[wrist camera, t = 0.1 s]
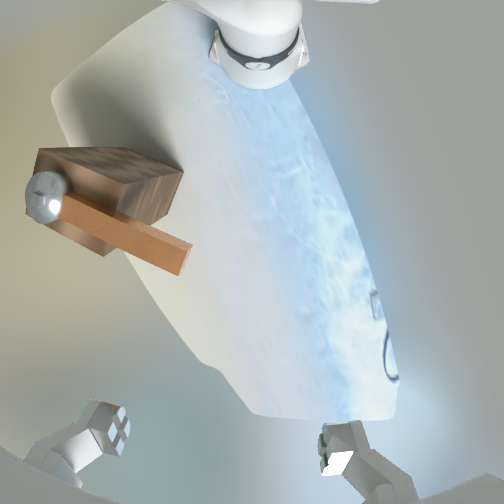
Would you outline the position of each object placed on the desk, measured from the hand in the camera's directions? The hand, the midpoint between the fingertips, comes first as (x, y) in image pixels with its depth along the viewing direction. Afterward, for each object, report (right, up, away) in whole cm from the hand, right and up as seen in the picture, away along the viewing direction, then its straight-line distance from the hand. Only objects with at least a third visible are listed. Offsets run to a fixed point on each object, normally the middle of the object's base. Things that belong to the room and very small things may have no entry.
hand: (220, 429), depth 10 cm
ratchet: (-15, +11, +20) cm, 27 cm away
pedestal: (-20, +21, +44) cm, 53 cm away
